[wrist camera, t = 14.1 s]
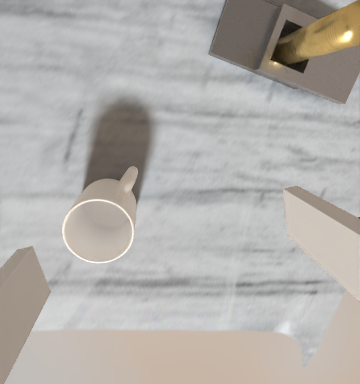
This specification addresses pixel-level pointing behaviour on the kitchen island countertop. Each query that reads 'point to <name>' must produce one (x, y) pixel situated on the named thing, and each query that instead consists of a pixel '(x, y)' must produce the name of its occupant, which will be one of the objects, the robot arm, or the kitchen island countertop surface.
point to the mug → (102, 219)
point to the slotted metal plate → (266, 42)
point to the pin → (321, 36)
